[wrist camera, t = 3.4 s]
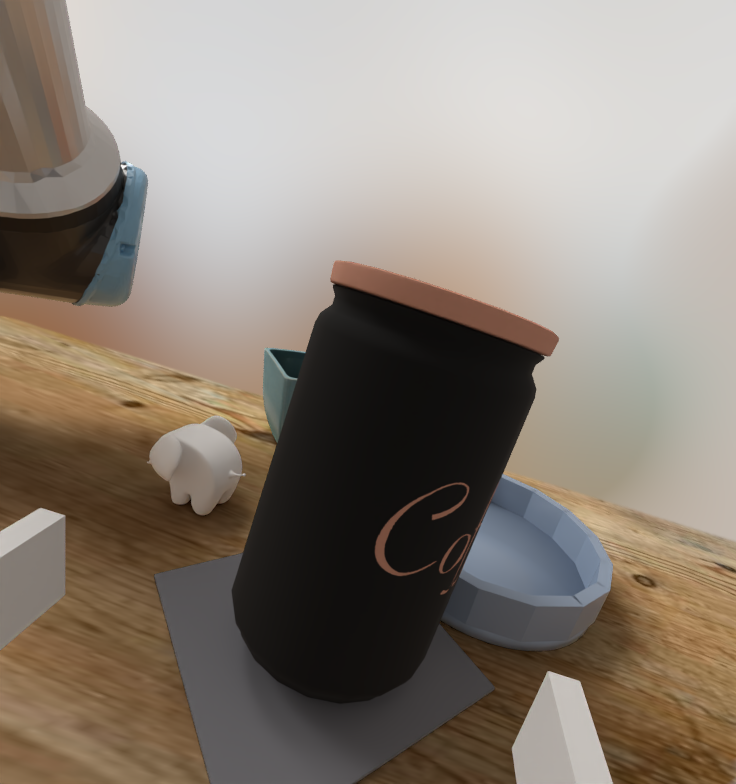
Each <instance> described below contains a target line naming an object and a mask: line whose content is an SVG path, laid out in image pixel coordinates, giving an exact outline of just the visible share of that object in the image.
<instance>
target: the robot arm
mask: <svg viewBox="0 0 736 784" xmlns="http://www.w3.org/2000/svg"><path fill="white" fill-rule="evenodd" d="M147 186H148V180H147V175H146V174H145V173H144V172H143V171H142V170H141V169H139V168H137V167H134V166H133V165H132V164H131V163H128V162H122V163H121V162H120V156H119V151H118V146H117V143H116V141H115V139H114V137H113V135H112V133H111V132H110V130H109V129H108V127H107V126H106V125H105V124H104V122H103V121H102V120H101V119H100V118H99V117H98V116H97V115H96V114H95V113H94V112H93V111H92V110H90V109H89V108H88V107H86V106H85V101H84V96H83V90H82V85H81V80H80V75H79V69H78V64H77V59H76V54H75V49H74V43H73V38H72V32H71V27H70V22H69V16H68V11H67V6H66V1H65V0H0V292H3V293H10V294H17V295H24V296H31V297H37V298H44V299H51V300H56V301H63V302H69V303H72V304H73V305H77V306H81V305H84V304H89V305H99V306H109V307H110V306H111V307H112V306H118V305H121V304H123V303H124V302H125V301H126V300H127V299H128V298H129V296H130V293H131V289H132V285H133V279H134V274H135V268H136V262H137V256H138V250H139V243H140V237H141V230H142V223H143V216H144V209H145V201H146V194H147ZM64 595H65V515H62V514H59V513H56V512H53V511H49V510H46V509H43V508H39V509H37V510H36V511H34V512H32V513H31V514H29V515H27V516H26V517H24V518H22V519H20V520H19V521H17V522H15V523H14V524H12V525H10V526H9V527H7V528H5V529H3V530H2V531H0V650H1V649H2V648H4V647H5V646H6V645H7V644H8V643H9V642H11V641H12V640H13V639H14V638H15V637H17V636H18V635H19V634H20V633H21V632H22V631H24V630H25V629H26V628H27V627H28V626H29V625H31V624H32V623H33V622H34V621H35V620H36V619H38V618H39V617H40V616H41V615H42V614H43V613H45V612H46V611H47V610H48V609H49V608H50V607H52V606H53V605H54V604H55V603H56V602H57V601H59V600H60V599H61V598H62V597H63V596H64ZM512 753H513V760H514V768H515V775H516V782H517V784H613V782H612V779H611V776H610V773H609V769H608V766H607V763H606V760H605V757H604V754H603V751H602V748H601V745H600V742H599V738H598V735H597V732H596V729H595V726H594V723H593V720H592V717H591V714H590V711H589V707H588V704H587V701H586V698H585V695H584V692H583V689H582V686H581V683H580V681H578V680H575V679H572V678H569V677H566V676H563V675H559V674H556V673H553V672H550V671H548V672H547V674H546V676H545V678H544V680H543V683H542V685H541V687H540V689H539V691H538V693H537V695H536V697H535V700H534V702H533V704H532V706H531V708H530V710H529V712H528V715H527V717H526V719H525V721H524V723H523V725H522V727H521V729H520V732H519V734H518V736H517V738H516V740H515V742H514V744H513V747H512Z"/></svg>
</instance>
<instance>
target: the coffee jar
mask: <svg viewBox="0 0 736 784" xmlns="http://www.w3.org/2000/svg"><path fill="white" fill-rule="evenodd" d="M331 282H332V283H334V285H333V289H334V293H335V298H334V301H333V304H332V305H331V306H329V307H328V308H327V309H325V310H324V311H322V312H321V313H320V314H319V316H318V318H317V320H316V321H315V324H314V328H313V331H312V334H311V337H310V340H309V343H308V347H307V350H306V353H305V356H304V359H303V363H302V366H301V369H300V372H299V375H298V379H297V382H296V385H295V388H294V391H293V395H292V398H291V401H290V404H289V407H288V411H287V414H286V417H285V420H284V423H283V427H282V430H281V433H280V436H279V439H278V443H277V446H276V449H275V452H274V455H273V459H272V462H271V465H270V468H269V472H268V475H267V478H266V481H265V484H264V488H263V491H262V494H261V497H260V500H259V504H258V507H257V510H256V513H255V516H254V520H253V523H252V526H251V529H250V532H249V536H248V539H247V542H246V545H245V548H244V552H243V555H242V558H241V561H240V564H239V568H238V571H237V574H236V577H235V581H234V584H233V587H232V590H231V591H232V599H233V607H234V615H235V622H236V625H237V627H238V628H239V630H240V632H241V636H242V638H243V640H244V642H245V643H246V645H247V647H248V649H249V651H250V652H251V654H252V656H253V658H254V660H255V661H256V662H257V663H258V664H259V665H260V666H262V667H263V668H264V669H265V670H266V671H267V672H268V673H269V674H270V675H271V676H272V677H273V678H274V679H275V680H276V681H277V682H279V683H281V684H283V685H285V686H287V687H289V688H291V689H293V690H295V691H296V692H298V693H300V694H302V695H304V696H306V697H309V698H314V699H318V700H323V701H328V702H333V703H338V704H343V703H352V702H361V701H369V700H371V699H373V698H375V697H377V696H382V695H383V694H385V693H387V692H389V691H391V690H393V689H395V688H396V687H398V686H400V685H402V684H404V683H405V682H407V681H408V680H409V679H411V677H412V676H413V674H414V673H415V671H416V670H417V669H418V667H419V666H420V664H421V663H422V661H423V660H424V658H425V656H426V654H427V651H428V649H429V647H430V644H431V642H432V640H433V637H434V635H435V632H436V630H437V628H438V625H439V623H440V621H441V618H442V616H443V614H444V611H445V609H446V606H447V604H448V602H449V599H450V597H451V595H452V592H453V590H454V588H455V585H456V583H457V581H458V578H459V576H460V573H461V571H462V569H463V566H464V564H465V562H466V559H467V557H468V555H469V552H470V550H471V547H472V545H473V543H474V540H475V538H476V536H477V533H478V531H479V529H480V526H481V524H482V521H483V519H484V517H485V514H486V512H487V510H488V507H489V505H490V503H491V500H492V498H493V495H494V493H495V491H496V488H497V486H498V484H499V481H500V479H501V477H502V474H503V472H504V469H505V467H506V465H507V462H508V460H509V458H510V455H511V453H512V450H513V448H514V446H515V444H516V441H517V439H518V436H519V434H520V432H521V429H522V427H523V424H524V422H525V420H526V417H527V415H528V413H529V410H530V408H531V405H532V403H533V401H534V399H535V393H536V387H535V383H534V380H533V377H532V372H533V370H534V367H535V365H536V364H538V363H539V362H541V361H542V360H543V359H544V356H551V354H552V352H553V350H554V348H555V347H556V345H557V343H558V341H559V338H558V336H557V335H556V334H555V333H554V332H552V331H551V330H549V329H547V328H545V327H543V326H540V325H538V324H536V323H534V322H532V321H530V320H527V319H525V318H523V317H520V316H518V315H515V314H513V313H510V312H507V311H505V310H503V309H500V308H498V307H494V306H492V305H489V304H486V303H483V302H481V301H478V300H476V299H473V298H470V297H467V296H464V295H462V294H459V293H456V292H453V291H450V290H447V289H444V288H441V287H438V286H434V285H431V284H429V283H425V282H422V281H419V280H416V279H413V278H409V277H406V276H403V275H399V274H396V273H393V272H389V271H386V270H382V269H379V268H375V267H371V266H367V265H362V264H358V263H354V262H347V261H335V263H334V265H333V269H332V274H331ZM542 355H544V356H542Z"/></svg>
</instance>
